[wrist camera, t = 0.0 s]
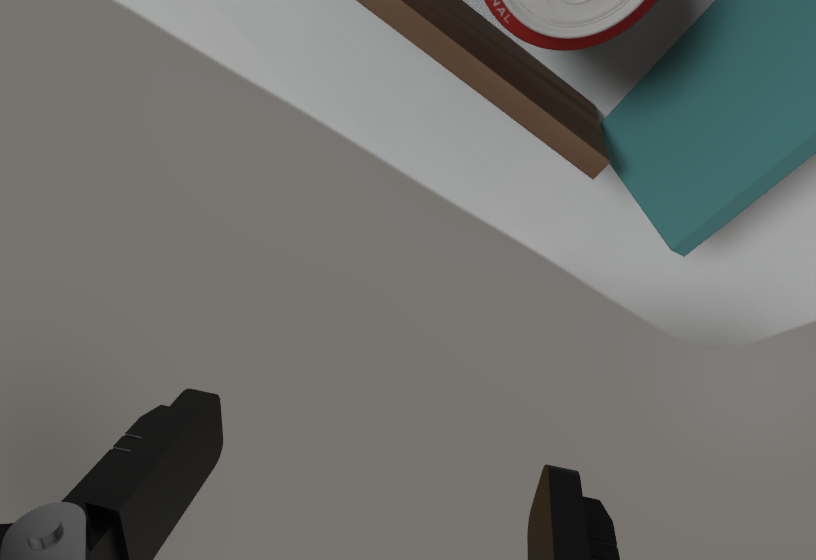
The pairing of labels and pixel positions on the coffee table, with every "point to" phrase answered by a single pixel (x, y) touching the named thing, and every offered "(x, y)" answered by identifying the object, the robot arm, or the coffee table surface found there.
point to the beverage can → (567, 20)
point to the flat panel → (718, 117)
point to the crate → (501, 75)
